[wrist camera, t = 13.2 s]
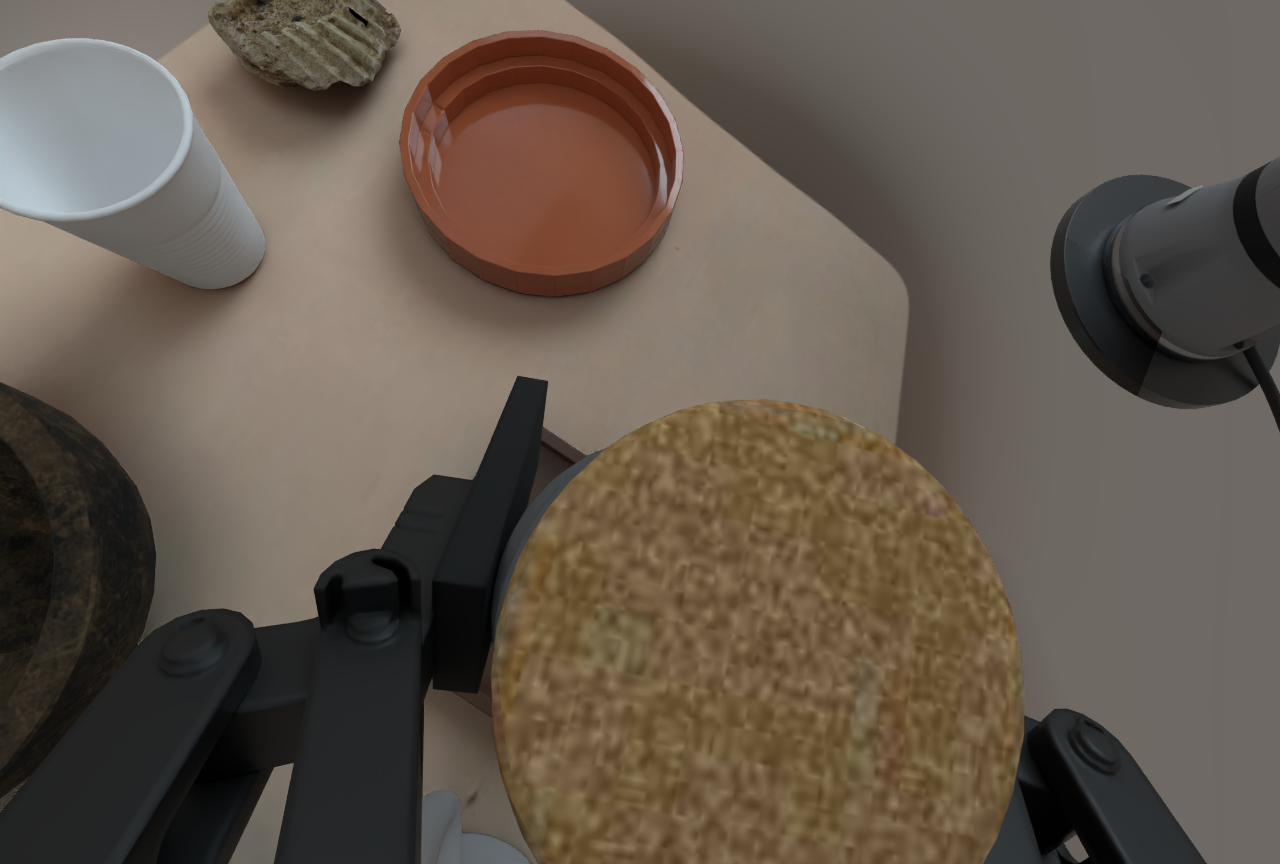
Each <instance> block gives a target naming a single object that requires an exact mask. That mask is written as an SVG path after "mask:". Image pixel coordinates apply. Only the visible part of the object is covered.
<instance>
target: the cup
mask: <svg viewBox="0 0 1280 864" xmlns="http://www.w3.org/2000/svg"><path fill="white" fill-rule="evenodd" d="M0 208H2V209H4V210H7V211H9V212H11V213H14V214H16V215H19V216H23V217H27V218H31V219H35V220H40V221H43V222H46V223H48V224H50V225H53V226H55V227H57V228H59V229H62V230H64V231H66V232H68V233H71V234H73V235H75V236H78V237H80V238H82V239H84V240H87V241H89V242H91V243H94V244H96V245H98V246H101V247H103V248H105V249H107V250H110V251H112V252H114V253H117V254H119V255H121V256H123V257H126V258H128V259H130V260H132V261H135V262H137V263H139V264H142V265H144V266H146V267H148V268H151V269H153V270H155V271H157V272H160V273H162V274H164V275H166V276H169V277H171V278H173V279H176V280H178V281H180V282H182V283H185V284H187V285H189V286H192V287H196V288H200V289H220V288H225V287H229V286H232V285H234V284H237V283H239V282H241V281H242V280H244V279H245V278H247V277H248V276H250V275H251V274H252V273H253V272H254V271H255V270H256V268H257V267H258V265H259V264H260V262H261V260H262V258H263V255H264V251H265V237H264V234H263V231H262V229H261V227H260V225H259V224H258V222H257V220H256V219H255V217H254V215H253V214H252V212H251V210H250V209H249V207H248V205H247V204H246V202H245V200H244V199H243V197H242V195H241V194H240V192H239V191H238V189H237V187H236V186H235V184H234V182H233V181H232V179H231V177H230V176H229V174H228V172H227V171H226V169H225V167H224V166H223V164H222V162H221V161H220V159H219V157H218V156H217V154H216V152H215V150H214V149H213V147H212V145H211V144H210V142H209V140H208V139H207V137H206V135H205V134H204V132H203V130H202V129H201V127H200V125H199V124H198V122H197V120H196V119H195V117H194V115H193V112H192V109H191V106H190V102H189V99H188V97H187V95H186V93H185V92H184V90H183V88H182V87H181V85H180V83H179V82H178V81H177V80H176V79H175V78H174V77H173V75H172V74H171V73H170V72H169V71H168V70H167V69H166V68H165V67H163V66H162V65H161V64H159V63H158V62H156V61H155V60H153V59H152V58H150V57H149V56H147V55H145V54H143V53H141V52H139V51H136V50H134V49H132V48H130V47H127V46H123V45H120V44H116V43H113V42H109V41H103V40H95V39H86V38H78V39H59V40H52V41H46V42H41V43H37V44H34V45H31V46H27V47H25V48H21V49H18V50H16V51H14V52H12V53H10V54H8V55H6V56H4V57H2V58H0Z"/></svg>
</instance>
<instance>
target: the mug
mask: <svg viewBox="0 0 1280 864" xmlns="http://www.w3.org/2000/svg"><path fill="white" fill-rule="evenodd" d="M421 864H531V863H530V862H529V861H528V860H527V858H526V857H525V856H523V855H522V854H521V853H520V852H519V851H518V850H517V849H515V848H514V847H512V846H510V845H509V844H507V843H506V842H503V841H501V840H499V839H496V838H494V837H490V836H486V835H483V834H473V833H462V810H461V803H460V800H459V798H458V796H457V794H455V793H452V792H450V791H445V790H440V791H435V792H432V793H430V794H428V795H427V796H425V797H423V798H422V840H421Z"/></svg>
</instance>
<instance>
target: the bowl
mask: <svg viewBox="0 0 1280 864" xmlns="http://www.w3.org/2000/svg"><path fill="white" fill-rule="evenodd" d="M155 564H156V551H155V545H154V539H153V533H152V527H151V521H150V517H149V515H148V512H147V510H146V508H145V505H144V503H143V501H142V498H141V496H140V493H139V491H138V489H137V486H136V485H135V484H134V482H133V481H132V480H131V478H130V477H129V476H128V474H127V473H126V472H125V470H124V469H123V468H122V466H121V465H120V464H119V462H118V461H117V460H116V458H115V457H114V456H113V455H112V454H111V453H110V451H109V450H108V449H107V448H106V447H105V446H104V444H103V443H102V442H101V441H99V440H98V439H97V438H96V437H95V436H93V435H92V434H91V433H90V432H89V431H88V430H86V429H85V428H84V427H83V426H82V425H80V424H79V423H78V422H77V421H76V420H74V419H73V418H72V417H71V416H69V415H67V414H65V413H63V412H61V411H60V410H58V409H56V408H54V407H52V406H50V405H48V404H46V403H44V402H42V401H40V400H39V399H37V398H35V397H33V396H30V395H28V394H26V393H24V392H21V391H19V390H17V389H15V388H12V387H10V386H8V385H6V384H3V383H1V382H0V798H1V797H3V796H4V795H5V794H7V793H8V792H9V791H11V790H12V789H14V788H15V787H16V786H18V785H19V784H20V783H22V782H23V781H24V780H26V779H27V778H28V777H30V776H31V775H32V774H33V772H34V771H35V770H36V769H37V768H38V766H39V765H40V764H41V763H42V762H43V760H44V759H45V758H46V757H47V755H48V754H49V753H50V752H51V751H52V749H53V748H54V747H55V746H56V744H57V743H58V742H59V741H60V740H61V738H62V737H63V736H64V735H65V733H66V732H67V731H68V730H69V729H70V727H71V726H72V725H73V724H74V722H75V721H76V720H77V719H78V718H79V716H80V715H81V714H82V713H83V712H84V710H85V709H86V708H87V707H88V705H89V704H90V703H91V702H92V701H93V699H94V698H95V697H96V696H97V694H98V693H99V692H100V691H101V690H102V688H103V687H104V686H105V685H106V683H107V682H108V681H109V680H110V679H111V677H112V676H113V675H114V674H115V672H116V671H117V670H118V669H119V668H120V666H121V665H122V664H123V663H124V662H125V660H126V659H127V658H128V657H129V655H130V654H131V653H132V652H133V651H134V649H135V647H136V645H137V643H138V641H139V639H140V637H141V635H142V633H143V630H144V627H145V623H146V619H147V616H148V612H149V608H150V604H151V601H152V597H153V593H154V581H155Z"/></svg>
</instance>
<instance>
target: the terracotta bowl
mask: <svg viewBox="0 0 1280 864" xmlns="http://www.w3.org/2000/svg"><path fill="white" fill-rule="evenodd" d="M399 142H400V143H399V145H400V151H401V157H402V164H403V170H404V176H405V179H406V181H407V184H408V186H409V188H410V191H411V193H412V195H413V198H414V200H415V202H416V205H417V207H418V209H419V211H420V213H421V215H422V217H423V219H424V221H425V223H426V225H427V227H428V229H429V231H430V233H431V235H432V236H433V237H434V238H435V239H436V241H437V242H438V243H439V244H440V245H441V246H442V247H443V248H444V250H445V251H446V252H447V253H448V254H449V255H450V256H451V257H452V259H453V260H455V261H456V262H457V263H459V264H460V265H462V266H463V267H465V268H466V269H468V270H469V271H471V272H472V273H474V274H475V275H477V276H479V277H480V278H482V279H483V280H485V281H488V282H491V283H494V284H496V285H499V286H502V287H505V288H507V289H510V290H513V291H516V292H519V293H525V294H535V295H544V296H554V297H555V296H562V295H570V294H577V293H584V292H589V291H593V290H596V289H598V288H601V287H603V286H605V285H608V284H610V283H613V282H615V281H618V280H620V279H622V278H623V277H625V276H626V275H627V274H629V273H630V272H631V271H633V270H634V269H635V268H636V267H638V266H639V265H640V264H642V263H643V262H644V261H646V259H647V258H648V257H649V256H650V254H651V253H652V251H653V250H654V249H655V247H656V246H657V245H658V243H659V242H660V240H661V239H662V238H663V236H664V234H665V232H666V229H667V226H668V223H669V220H670V217H671V215H672V212H673V209H674V206H675V203H676V200H677V197H678V194H679V191H680V188H681V185H682V181H683V148H682V144H681V140H680V136H679V132H678V128H677V124H676V121H675V119H674V117H673V115H672V113H671V112H670V110H669V108H668V106H667V104H666V103H665V101H664V99H663V97H662V96H661V94H660V93H659V91H658V90H657V89H656V88H655V87H654V86H653V85H652V84H651V83H650V82H649V81H648V80H647V79H646V78H645V76H644V75H643V74H642V73H641V72H640V71H639V70H638V69H636V67H634V66H633V65H631V64H630V63H628V62H627V61H625V60H624V59H622V58H621V57H619V56H618V55H616V54H615V53H613V52H612V51H610V50H608V49H607V48H604V47H602V46H599V45H597V44H594V43H592V42H589V41H587V40H584V39H582V38H579V37H577V36H572V35H566V34H560V33H554V32H548V31H542V30H541V31H540V30H533V31H511V32H506V33H505V32H503V33H499V34H495V35H492V36H488V37H485V38H481V39H478V40H474V41H471V42H469V43H468V44H466V45H464V46H462V47H461V48H459V49H457V50H455V51H454V52H452V53H450V54H448V55H447V56H445V57H443V58H442V59H441V60H440V61H439V62H438V63H437V64H436V65H435V66H434V67H433V68H432V69H431V70H430V71H429V72H428V73H427V74H426V75H425V76H424V77H423V78H422V79H421V80H420V82H419V83H418V85H417V87H416V89H415V91H414V93H413V95H412V97H411V99H410V101H409V103H408V105H407V107H406V108H405V111H404V117H403V123H402V129H401V135H400V141H399Z"/></svg>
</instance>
